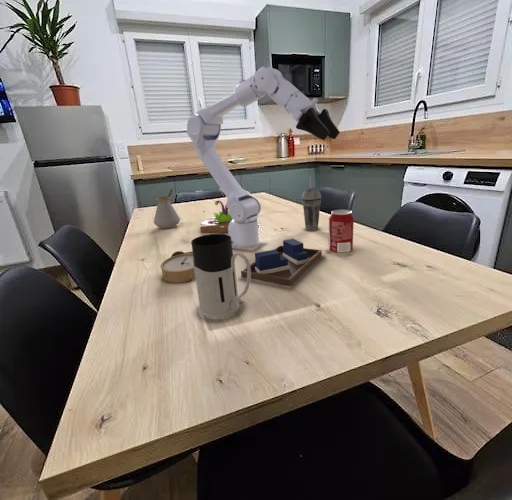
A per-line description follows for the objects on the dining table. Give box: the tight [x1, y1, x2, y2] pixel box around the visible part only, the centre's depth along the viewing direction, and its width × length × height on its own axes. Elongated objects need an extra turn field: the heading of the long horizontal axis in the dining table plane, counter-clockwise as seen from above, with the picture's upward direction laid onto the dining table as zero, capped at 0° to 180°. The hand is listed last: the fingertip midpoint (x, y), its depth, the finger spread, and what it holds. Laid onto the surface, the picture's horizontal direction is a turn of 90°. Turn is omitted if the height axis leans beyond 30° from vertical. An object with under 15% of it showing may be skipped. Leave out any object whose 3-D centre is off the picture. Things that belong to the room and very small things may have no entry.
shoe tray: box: [240, 244, 323, 287], centre depth 78 cm, size 13×21×2 cm, turn 149°
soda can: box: [328, 209, 355, 254], centre depth 85 cm, size 7×7×12 cm
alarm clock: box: [160, 250, 196, 284], centre depth 81 cm, size 11×5×15 cm
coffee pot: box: [153, 188, 181, 230], centre depth 135 cm, size 21×12×15 cm, turn 179°
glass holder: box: [190, 233, 252, 320], centre depth 56 cm, size 9×14×15 cm, turn 46°
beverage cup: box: [301, 175, 322, 232], centre depth 109 cm, size 7×7×20 cm
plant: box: [200, 200, 233, 234], centre depth 123 cm, size 20×20×11 cm
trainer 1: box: [254, 249, 289, 274], centre depth 75 cm, size 8×4×5 cm, turn 109°
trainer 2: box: [282, 238, 309, 265], centre depth 81 cm, size 8×4×5 cm, turn 24°
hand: (332, 136), depth 73 cm, fingers open, 7 cm apart
